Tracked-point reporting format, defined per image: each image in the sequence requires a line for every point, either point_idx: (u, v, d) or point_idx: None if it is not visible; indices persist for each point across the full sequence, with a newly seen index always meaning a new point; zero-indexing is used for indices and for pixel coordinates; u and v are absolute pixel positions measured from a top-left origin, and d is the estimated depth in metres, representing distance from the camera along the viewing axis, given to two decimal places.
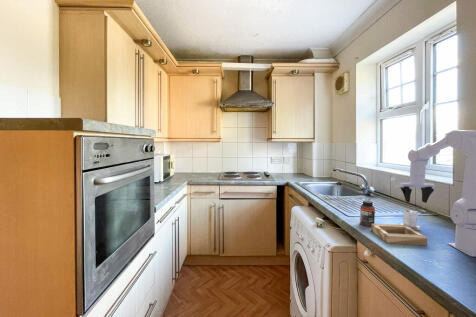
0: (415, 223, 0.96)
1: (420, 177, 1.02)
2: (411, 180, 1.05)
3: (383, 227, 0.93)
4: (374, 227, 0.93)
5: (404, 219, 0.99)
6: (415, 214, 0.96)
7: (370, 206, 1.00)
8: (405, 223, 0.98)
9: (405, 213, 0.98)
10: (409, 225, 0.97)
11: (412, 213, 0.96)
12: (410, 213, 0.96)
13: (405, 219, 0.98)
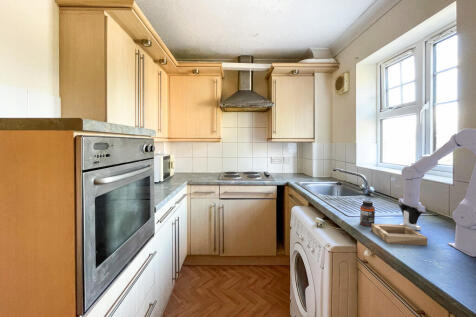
0: None
1: (404, 194, 0.98)
2: None
3: (383, 227, 0.93)
4: (374, 227, 0.93)
5: (404, 219, 0.99)
6: None
7: (370, 206, 1.00)
8: (405, 223, 0.98)
9: (405, 213, 0.98)
10: (409, 225, 0.97)
11: None
12: None
13: (405, 219, 0.98)
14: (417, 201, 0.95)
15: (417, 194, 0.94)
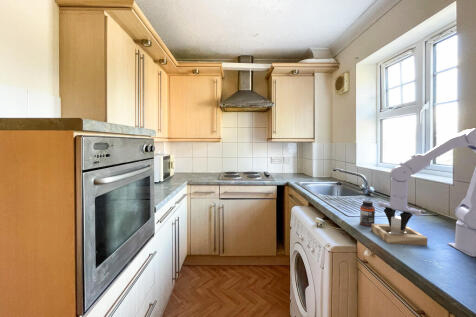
0: None
1: (394, 198, 0.87)
2: None
3: (383, 227, 0.93)
4: (374, 227, 0.93)
5: (393, 227, 0.89)
6: None
7: (370, 206, 1.00)
8: (395, 231, 0.89)
9: (394, 220, 0.88)
10: (400, 233, 0.87)
11: None
12: None
13: (395, 227, 0.88)
14: None
15: (407, 196, 0.86)
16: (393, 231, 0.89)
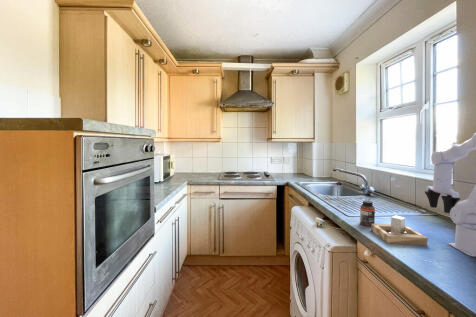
0: (403, 229, 0.88)
1: (434, 181, 0.93)
2: None
3: (383, 227, 0.93)
4: (374, 227, 0.93)
5: (393, 227, 0.89)
6: (404, 220, 0.88)
7: (370, 206, 1.00)
8: (395, 231, 0.89)
9: (394, 220, 0.88)
10: (400, 233, 0.87)
11: (402, 219, 0.87)
12: (401, 220, 0.87)
13: (395, 227, 0.88)
14: (449, 187, 0.90)
15: (449, 180, 0.90)
16: (393, 231, 0.89)
